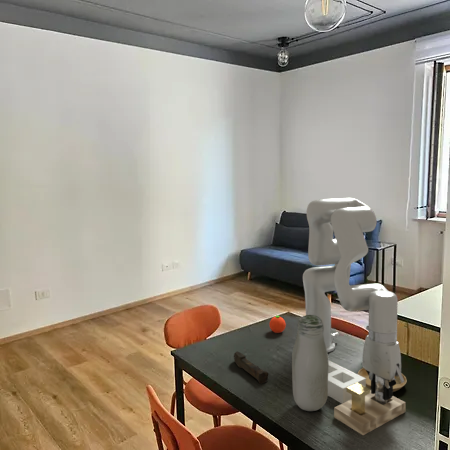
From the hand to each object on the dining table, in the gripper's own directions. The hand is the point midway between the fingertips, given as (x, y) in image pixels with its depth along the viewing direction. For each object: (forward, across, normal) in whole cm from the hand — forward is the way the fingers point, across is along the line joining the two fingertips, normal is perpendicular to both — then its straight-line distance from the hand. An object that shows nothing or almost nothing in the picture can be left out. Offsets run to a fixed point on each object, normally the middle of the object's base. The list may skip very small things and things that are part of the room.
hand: (381, 394), depth 123 cm
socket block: (+4, 0, -5) cm, 7 cm away
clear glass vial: (+4, 0, 0) cm, 4 cm away
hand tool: (+5, -41, -18) cm, 45 cm away
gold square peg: (+4, 0, -10) cm, 11 cm away
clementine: (+5, -62, +13) cm, 64 cm away
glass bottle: (+4, -12, -16) cm, 21 cm away
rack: (+4, -16, -2) cm, 17 cm away
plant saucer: (+5, -9, +12) cm, 16 cm away
